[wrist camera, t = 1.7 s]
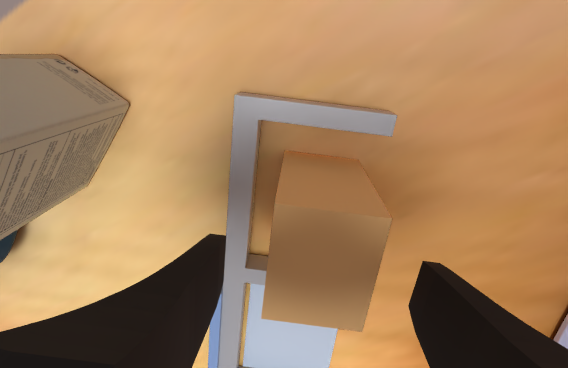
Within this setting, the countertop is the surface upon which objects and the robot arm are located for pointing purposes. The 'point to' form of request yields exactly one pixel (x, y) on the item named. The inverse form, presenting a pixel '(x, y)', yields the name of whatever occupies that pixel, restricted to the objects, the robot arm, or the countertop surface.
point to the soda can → (6, 245)
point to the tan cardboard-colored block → (324, 243)
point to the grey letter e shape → (252, 268)
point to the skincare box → (49, 133)
